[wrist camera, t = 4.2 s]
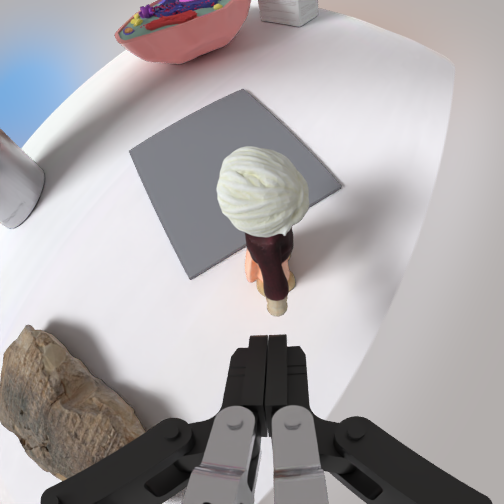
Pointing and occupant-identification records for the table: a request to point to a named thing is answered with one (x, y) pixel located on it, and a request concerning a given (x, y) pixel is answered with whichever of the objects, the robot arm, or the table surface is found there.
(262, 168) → the grandmother figurine
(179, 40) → the cell model
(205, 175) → the felt mat
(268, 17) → the supplement box
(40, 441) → the clay tablet
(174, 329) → the table surface
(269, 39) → the table surface
